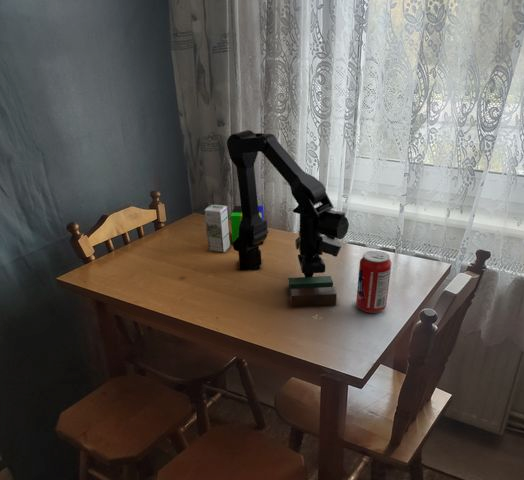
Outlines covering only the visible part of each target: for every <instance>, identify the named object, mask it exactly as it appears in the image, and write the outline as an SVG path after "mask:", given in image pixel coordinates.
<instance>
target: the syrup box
mask: <svg viewBox="0 0 524 480" xmlns="http://www.w3.org/2000/svg"><path fill="white" fill-rule="evenodd" d="M204 217H205V227H206V236H207V237H206V238H207V245H208V246H207V248H208V252H216V253H225V252H226V251H227V250H228V249H229V248H230V247H231V242H230V233H229V232H230V230H229V216H228V206H227V205H222V204H221V205H220V204H210V205H208V206H207V207H206V208H205V209H204Z"/></svg>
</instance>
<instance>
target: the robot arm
mask: <svg viewBox="0 0 524 480" xmlns="http://www.w3.org/2000/svg"><path fill="white" fill-rule="evenodd" d="M277 138H278V137H277V136H276V135H275V134H273V133H263V132H260V133H259V132H257V133H256V132H254V131H252V130H250V129H247V130H242V131H240V132H236V133H233V134H232V133H231V134H230V135H229V137H228V138H227V140H226V148H227V152H228V155H229V159H230V161H232V163H233V165H234V166H235V167H236V175H237V183H238V191H239V200H240V206H241V209H242V219H241V222H240V225H239V237H238V238H237V239H236V240H235V241H234V242H233V243H231V245H232V248H233V251H235V252H238V270H239V271H249V270H260V269H261V265H262V250H261V249H260V246H262V245H264V241H265V240H266V239H267V237H268V234H269V230H268V221H267V220H266V219H264V220H262V218H261V217H260V215H259V210H258V206H259V201H258V192H257V183H256V173H255V172H256V171H255V162H256V161H257V157H258V155H259V153H262V154H263V156H264V157H265V158H266V159H267V160H268V161H269V163H270V164H271V165H272V166H273V167H274V169H275V170H276V171H277V172H278V173H279V174H280V175H281V177H282V178H283V179H284V180H285V182H287V184H288V186H289V187H290V191H291V195H292V197H293V199H294V200H295V202H296V203H297V206H296V207H295V208H294V209H292V212H293V213H295V214H298V215H299V230H298V237H297V238H296V239H295V241H294V242H295V245H294V246H295V249H296V250H298V251H299V254H297V259H298V262H299V266H300V270H301V273H302V274H303V275H304V277H314V274H324V273H325V272H326V263H325V261H324V259H323V258H322V257H321V256H323V254H326V255H330V256H332V257H335V258H336V257H338V255H339V253H340V251H341V248H342V244H341V242H340V240H343V239H344V238H345V237H346V235H347V233H348V231H349V227H350V223H349V220H348V217H346V213H345V212H344V211H337V210H333V209H334V205H333V203H332V201H331V199H330V197H329V196H328V193H327V188H326V187H325V185H324V184H323V183H322V182H321V181H320V180H318V179H317V177H315V176H313V175H311V174H310V173H307V172H306V171H304V170H303V169H302V168H301V166H300V165H299V164H298V163H297V162H296V161H295V159H293V158H292V156H291V155H290V154H289V152H287V150H286V149H285V147H283V146H282V144H280V142H279V141H278V139H277ZM319 204H321V205H319ZM317 205H318V206H317ZM315 206H316V207H315Z"/></svg>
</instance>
